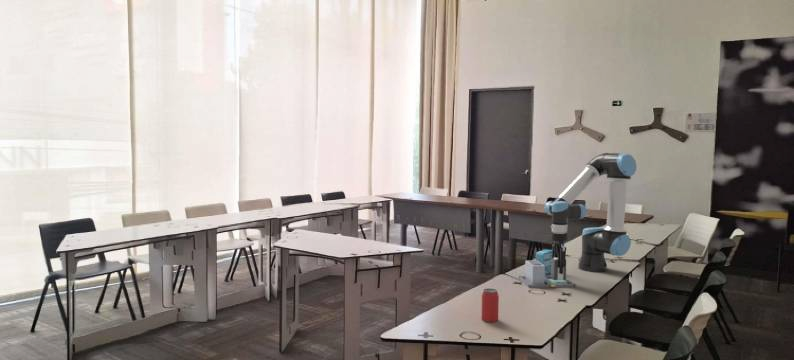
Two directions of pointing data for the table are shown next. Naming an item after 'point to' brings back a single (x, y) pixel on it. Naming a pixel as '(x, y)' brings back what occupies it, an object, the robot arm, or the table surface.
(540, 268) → the block
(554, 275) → the plug
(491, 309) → the beer can
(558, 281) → the grey flat panel
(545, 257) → the data package
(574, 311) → the table surface
